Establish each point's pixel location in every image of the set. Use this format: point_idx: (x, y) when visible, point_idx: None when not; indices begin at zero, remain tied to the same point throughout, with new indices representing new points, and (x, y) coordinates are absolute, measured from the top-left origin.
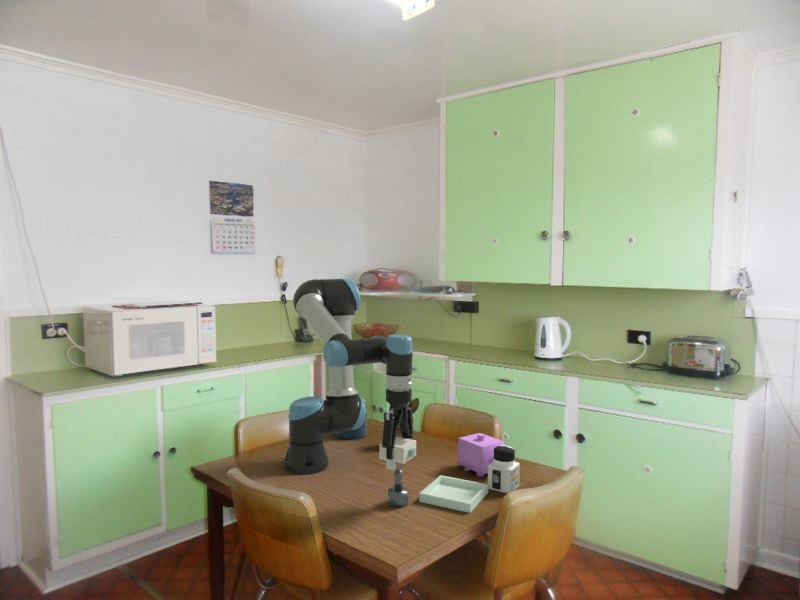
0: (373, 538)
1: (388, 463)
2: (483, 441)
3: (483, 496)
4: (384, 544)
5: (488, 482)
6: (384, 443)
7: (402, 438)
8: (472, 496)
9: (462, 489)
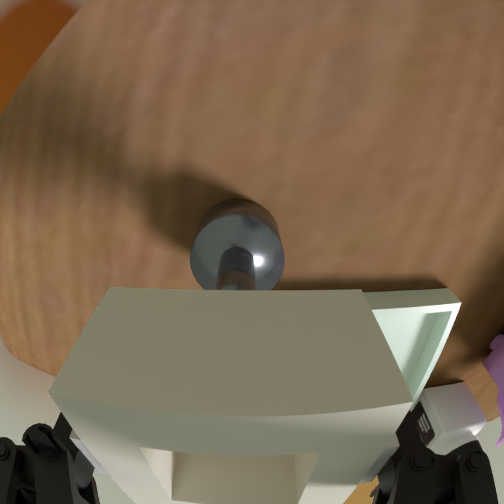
0: (22, 278)
1: None
2: None
3: None
4: (24, 310)
5: (427, 402)
6: (3, 471)
7: (351, 474)
8: None
9: (404, 360)
